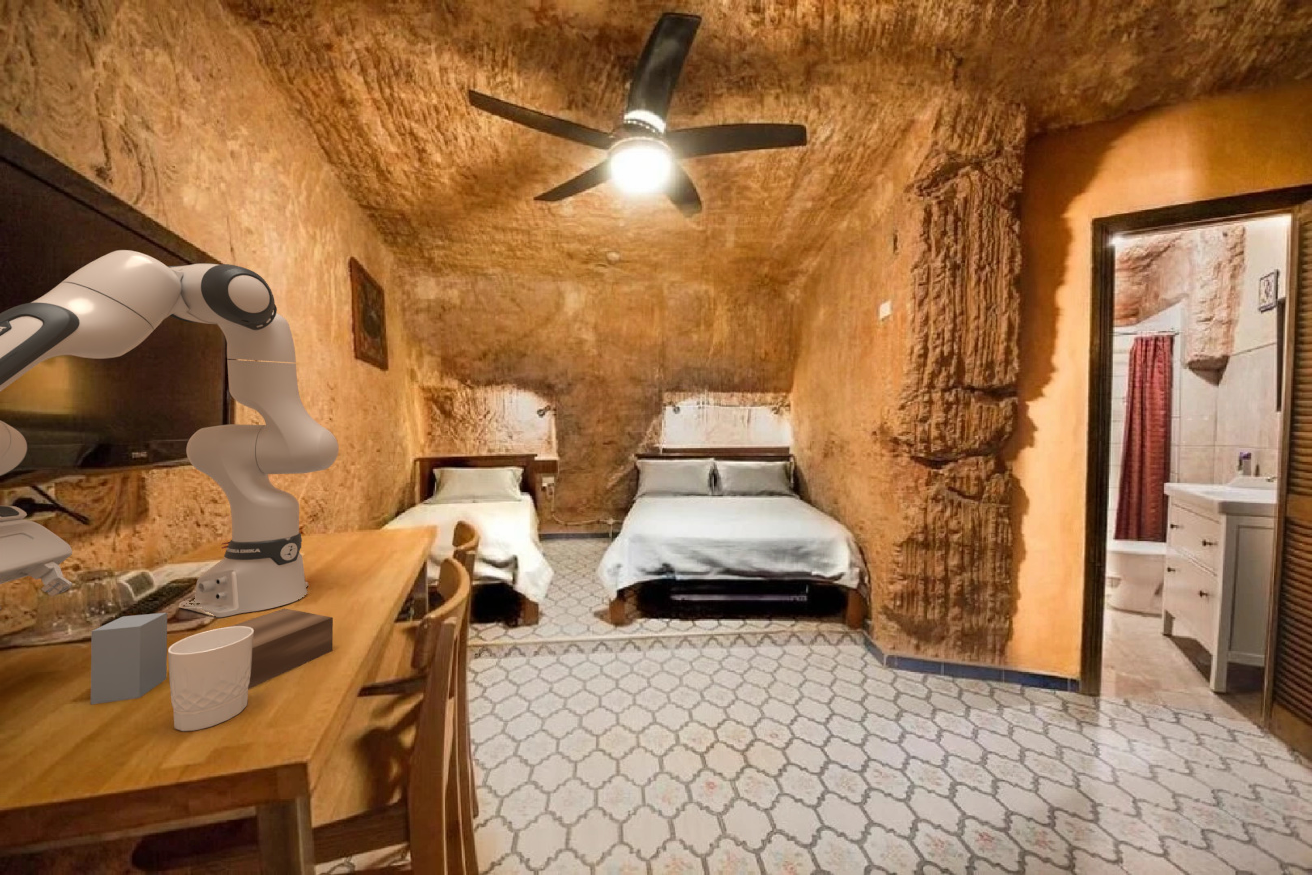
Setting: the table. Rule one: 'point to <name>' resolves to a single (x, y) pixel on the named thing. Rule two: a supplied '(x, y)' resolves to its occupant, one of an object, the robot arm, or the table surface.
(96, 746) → the table surface
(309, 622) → the walnut box
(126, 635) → the slate block
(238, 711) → the white cup
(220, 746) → the table surface
